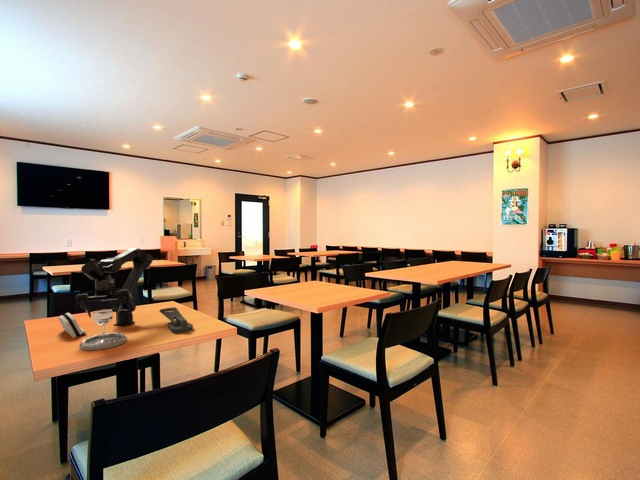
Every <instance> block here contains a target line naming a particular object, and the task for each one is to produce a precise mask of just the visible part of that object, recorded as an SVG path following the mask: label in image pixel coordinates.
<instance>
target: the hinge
mask: <svg viewBox="0 0 640 480" xmlns="http://www.w3.org/2000/svg"><path fill="white" fill-rule="evenodd" d="M57 318H58V320H59V323H60V324H61V326H62V329H63V330H64V331H65V333H66V334H68V335H69V336H71V337H72V338H74V339H75V338H77V336H78V335H79V336H80V335H82V334H84V335H85V336H88V334H87V332H86V331H85V330H84V329H83V328H81V327H80V325H79V323H78V321H77V320H76V318H75V316H74V315H72V314H71V313H70V312H66V313H64V314H63V315H62V314H61V315H60V316H58V317H57Z"/></svg>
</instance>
